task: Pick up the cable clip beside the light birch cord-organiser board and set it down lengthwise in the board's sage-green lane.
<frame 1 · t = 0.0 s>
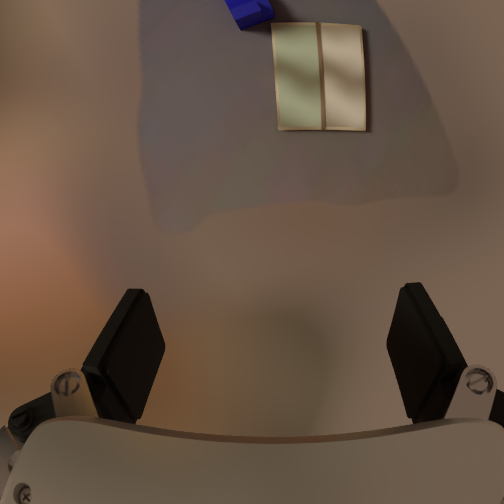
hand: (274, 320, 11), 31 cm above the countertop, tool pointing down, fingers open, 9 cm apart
organiser board: (319, 75, 33), on the countertop
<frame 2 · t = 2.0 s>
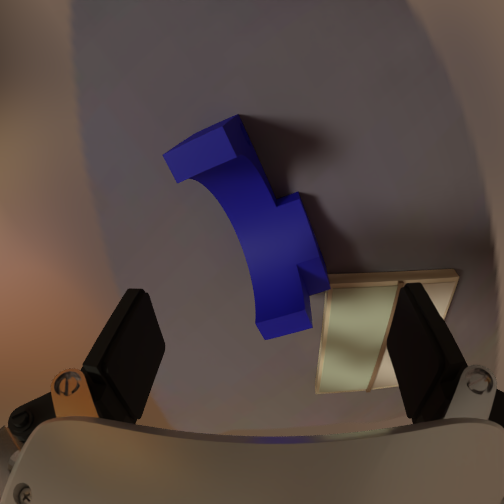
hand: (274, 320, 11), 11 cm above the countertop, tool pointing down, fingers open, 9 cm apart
organiser board: (379, 335, 25), on the countertop
cable clip: (265, 201, 20), on the countertop
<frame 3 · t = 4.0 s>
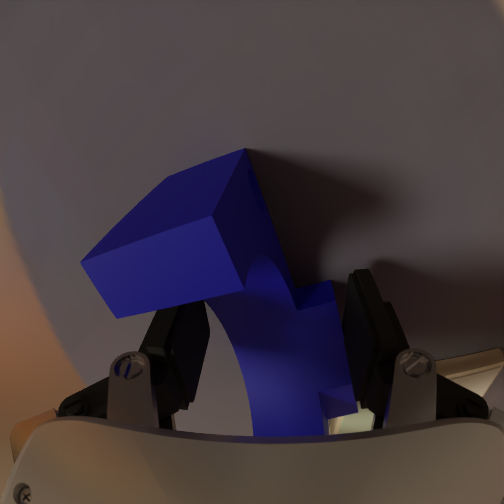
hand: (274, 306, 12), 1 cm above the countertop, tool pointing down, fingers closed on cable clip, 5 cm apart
organiser board: (400, 421, 18), on the countertop
cable clip: (277, 288, 13), on the countertop, touching gripper
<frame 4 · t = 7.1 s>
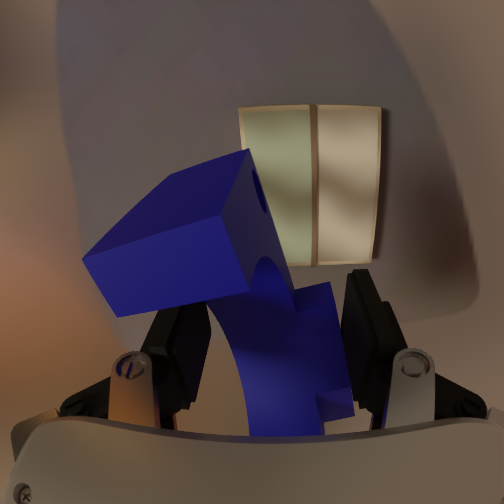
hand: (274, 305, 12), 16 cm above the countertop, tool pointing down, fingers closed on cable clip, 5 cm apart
organiser board: (312, 186, 25), on the countertop
cable clip: (277, 290, 13), point 14 cm above the countertop, touching gripper
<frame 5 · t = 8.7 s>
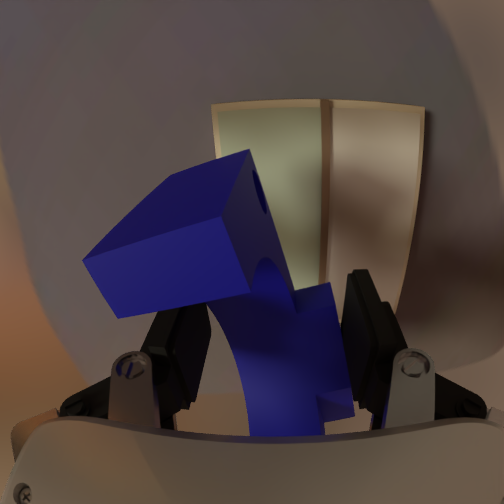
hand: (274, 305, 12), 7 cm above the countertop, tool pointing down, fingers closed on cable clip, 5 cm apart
organiser board: (321, 220, 18), on the countertop
cable clip: (277, 291, 13), point 6 cm above the countertop, touching gripper
when the fingers open (3 cm above the countertop, at t = 9.9 s): cable clip stays where it is, resting on organiser board.
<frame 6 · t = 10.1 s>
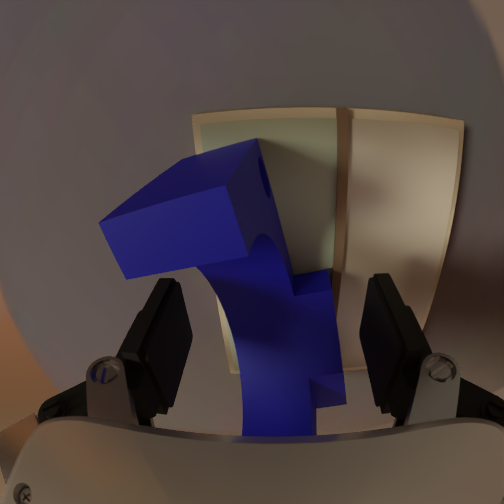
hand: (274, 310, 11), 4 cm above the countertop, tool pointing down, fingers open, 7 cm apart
organiser board: (332, 258, 14), on the countertop
cable clip: (277, 275, 14), point 1 cm above the countertop, touching organiser board
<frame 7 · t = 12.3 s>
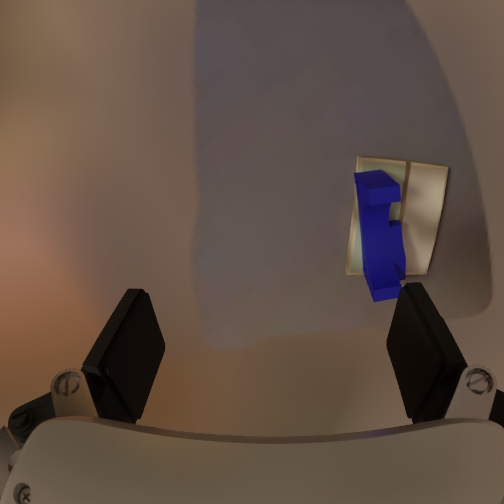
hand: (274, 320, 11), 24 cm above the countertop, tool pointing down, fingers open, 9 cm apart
organiser board: (395, 218, 33), on the countertop
cable clip: (378, 222, 32), point 1 cm above the countertop, touching organiser board
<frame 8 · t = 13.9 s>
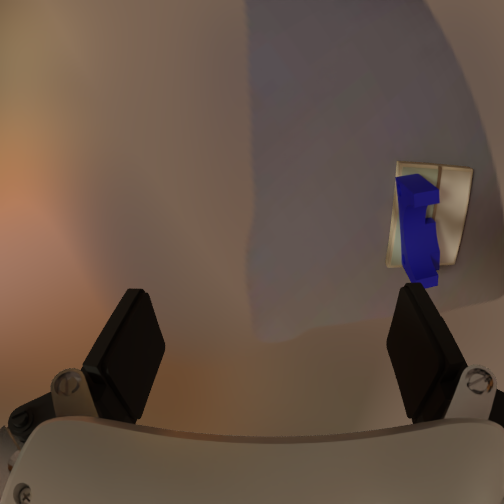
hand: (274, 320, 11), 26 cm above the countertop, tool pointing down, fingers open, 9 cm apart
organiser board: (428, 215, 35), on the countertop
cable clip: (415, 219, 35), point 1 cm above the countertop, touching organiser board
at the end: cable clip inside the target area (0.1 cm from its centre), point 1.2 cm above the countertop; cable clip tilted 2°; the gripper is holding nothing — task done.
